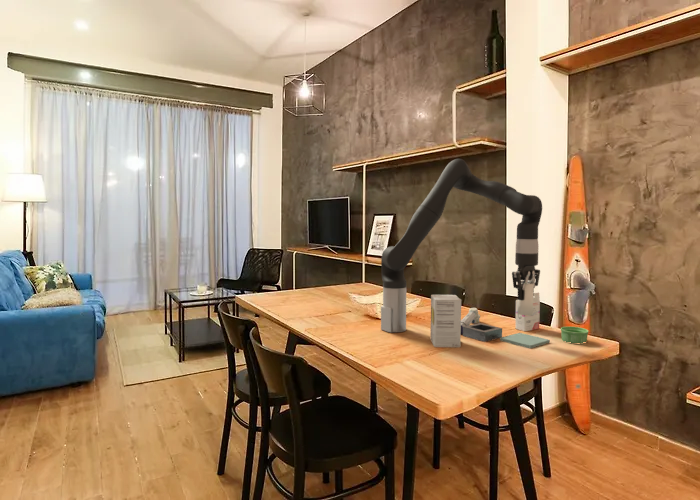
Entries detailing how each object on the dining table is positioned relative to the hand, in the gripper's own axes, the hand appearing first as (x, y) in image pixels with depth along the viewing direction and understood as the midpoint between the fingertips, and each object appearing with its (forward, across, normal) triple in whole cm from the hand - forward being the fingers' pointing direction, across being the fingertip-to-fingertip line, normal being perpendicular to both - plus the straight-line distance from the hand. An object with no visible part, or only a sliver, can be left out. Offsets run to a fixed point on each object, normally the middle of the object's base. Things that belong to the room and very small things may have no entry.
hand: (525, 298), depth 156 cm
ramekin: (+16, +15, -10) cm, 24 cm away
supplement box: (+16, -25, +15) cm, 33 cm away
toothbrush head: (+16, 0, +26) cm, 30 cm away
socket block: (+15, -7, +13) cm, 21 cm away
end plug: (+5, 0, 0) cm, 5 cm away
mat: (+15, 0, 0) cm, 15 cm away
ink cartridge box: (+16, +17, +10) cm, 25 cm away
